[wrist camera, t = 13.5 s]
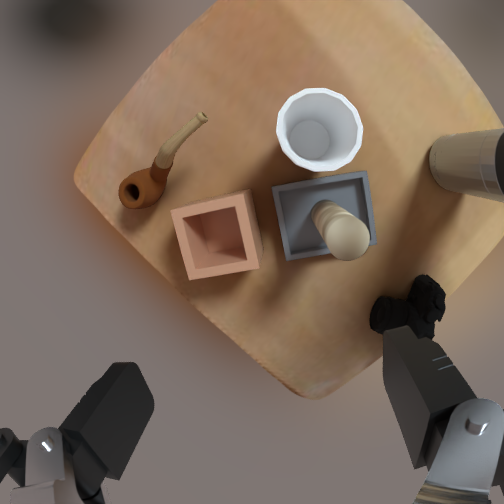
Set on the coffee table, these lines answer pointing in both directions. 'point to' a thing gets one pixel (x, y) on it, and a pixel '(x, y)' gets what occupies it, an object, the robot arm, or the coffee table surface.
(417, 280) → the film camera
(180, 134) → the smoking pipe
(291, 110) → the foam cup
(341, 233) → the maple dowel
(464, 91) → the coffee table surface
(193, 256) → the deep box
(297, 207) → the tray
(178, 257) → the coffee table surface
